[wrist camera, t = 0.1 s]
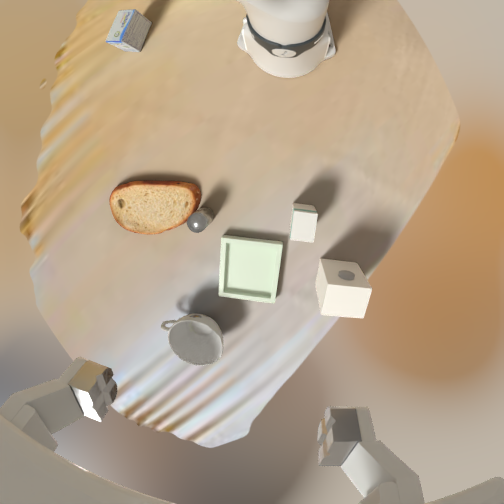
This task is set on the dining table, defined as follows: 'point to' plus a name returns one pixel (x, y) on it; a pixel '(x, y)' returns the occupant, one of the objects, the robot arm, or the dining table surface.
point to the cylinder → (200, 219)
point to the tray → (249, 268)
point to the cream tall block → (342, 289)
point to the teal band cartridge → (303, 222)
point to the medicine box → (129, 30)
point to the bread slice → (154, 205)
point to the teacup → (195, 339)
